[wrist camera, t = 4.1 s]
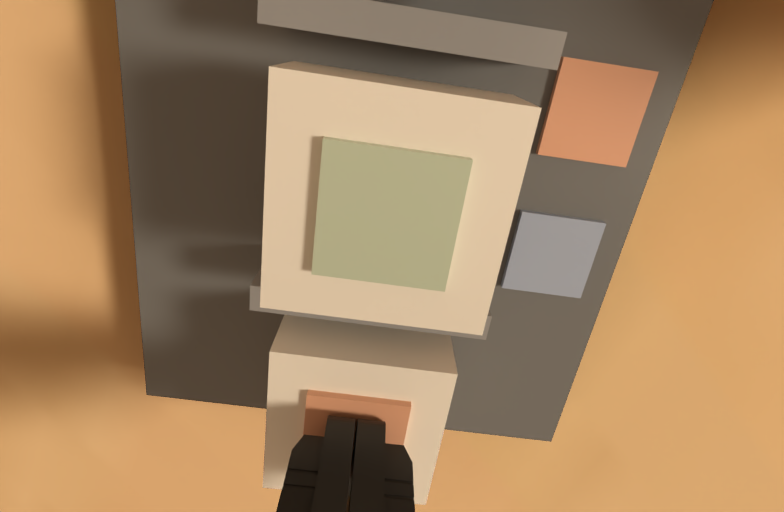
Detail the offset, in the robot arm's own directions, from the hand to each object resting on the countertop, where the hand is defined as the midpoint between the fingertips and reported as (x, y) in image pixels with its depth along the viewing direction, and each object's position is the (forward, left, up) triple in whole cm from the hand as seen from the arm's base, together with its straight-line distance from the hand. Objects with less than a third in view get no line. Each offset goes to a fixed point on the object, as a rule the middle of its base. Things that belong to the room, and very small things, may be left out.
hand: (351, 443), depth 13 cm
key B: (-7, 0, -3) cm, 7 cm away
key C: (0, 0, -4) cm, 4 cm away
